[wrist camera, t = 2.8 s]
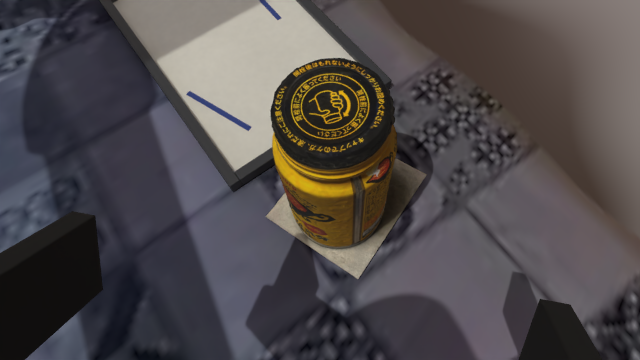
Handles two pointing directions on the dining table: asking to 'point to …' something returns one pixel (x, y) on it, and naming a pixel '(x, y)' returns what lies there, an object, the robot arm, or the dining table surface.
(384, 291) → the dining table surface
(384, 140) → the condiment
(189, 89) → the whiteboard
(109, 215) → the dining table surface
